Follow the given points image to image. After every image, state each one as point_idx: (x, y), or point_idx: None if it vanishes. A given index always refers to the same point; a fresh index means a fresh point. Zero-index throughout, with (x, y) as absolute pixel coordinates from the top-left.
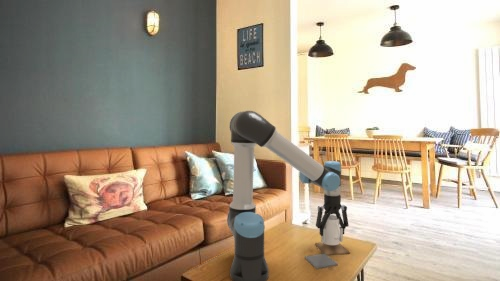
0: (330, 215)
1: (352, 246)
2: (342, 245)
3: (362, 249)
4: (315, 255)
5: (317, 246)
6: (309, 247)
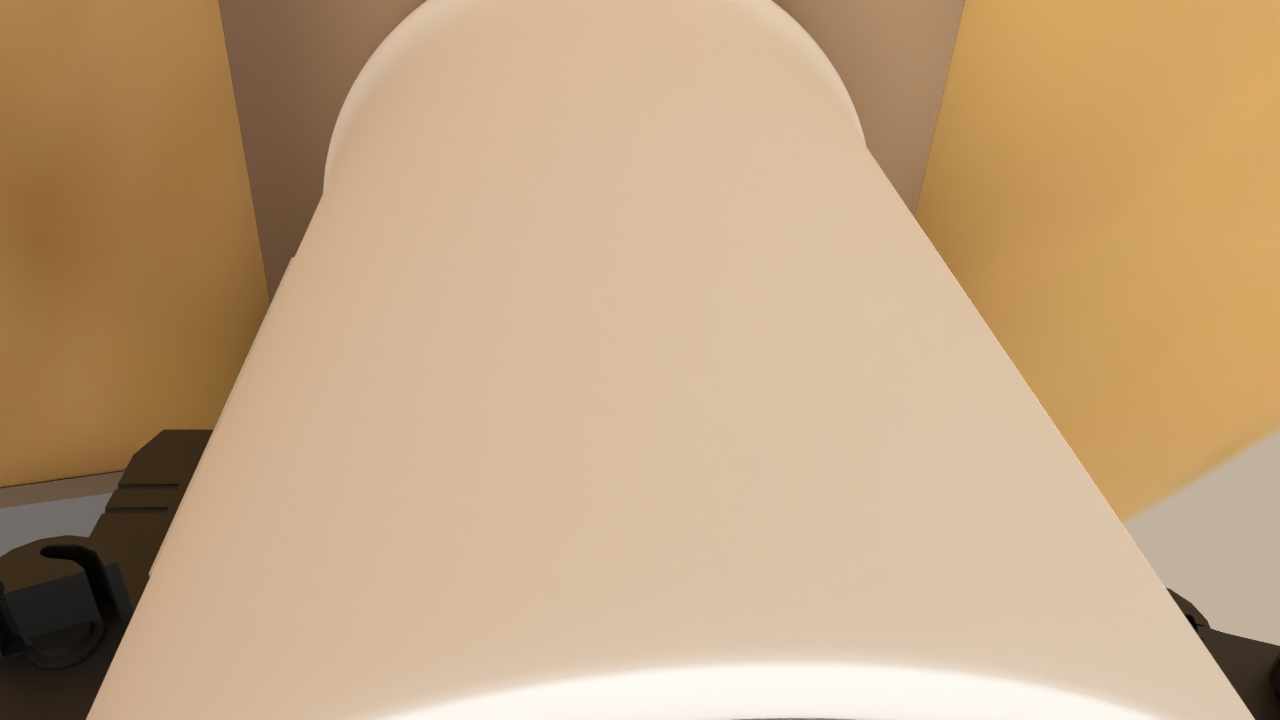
0: (1046, 695)
1: (1157, 189)
2: (917, 202)
3: (1225, 351)
4: (83, 515)
5: (241, 92)
6: (5, 38)
